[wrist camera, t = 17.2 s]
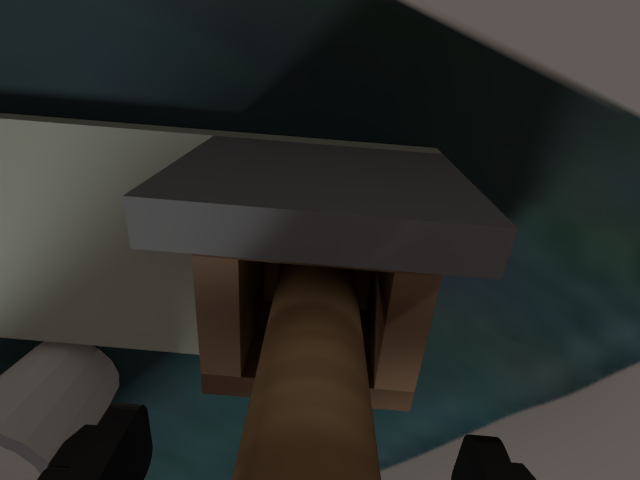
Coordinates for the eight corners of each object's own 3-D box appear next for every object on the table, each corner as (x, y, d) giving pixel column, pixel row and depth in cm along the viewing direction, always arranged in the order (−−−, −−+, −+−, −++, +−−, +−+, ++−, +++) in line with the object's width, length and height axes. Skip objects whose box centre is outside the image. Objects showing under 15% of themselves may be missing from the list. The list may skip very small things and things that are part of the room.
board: (395, 357, 24) (398, 371, 22) (14, 324, 24) (-1, 337, 23) (436, 147, 18) (442, 153, 17) (-56, 108, 18) (-81, 112, 17)
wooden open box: (391, 316, 21) (409, 411, 15) (238, 303, 21) (202, 393, 15) (414, 187, 18) (448, 248, 12) (235, 173, 18) (189, 227, 12)
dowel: (351, 289, 19) (384, 612, 8) (284, 288, 19) (223, 608, 8) (354, 227, 17) (399, 513, 6) (281, 226, 17) (205, 509, 7)
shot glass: (139, 352, 24) (69, 457, 18) (118, 422, 27) (52, 534, 21) (26, 313, 23) (-90, 409, 17) (17, 390, 26) (-85, 497, 20)
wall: (436, 187, 18) (501, 279, 11) (215, 169, 18) (130, 248, 11) (442, 153, 17) (518, 228, 10) (213, 135, 17) (122, 195, 10)
